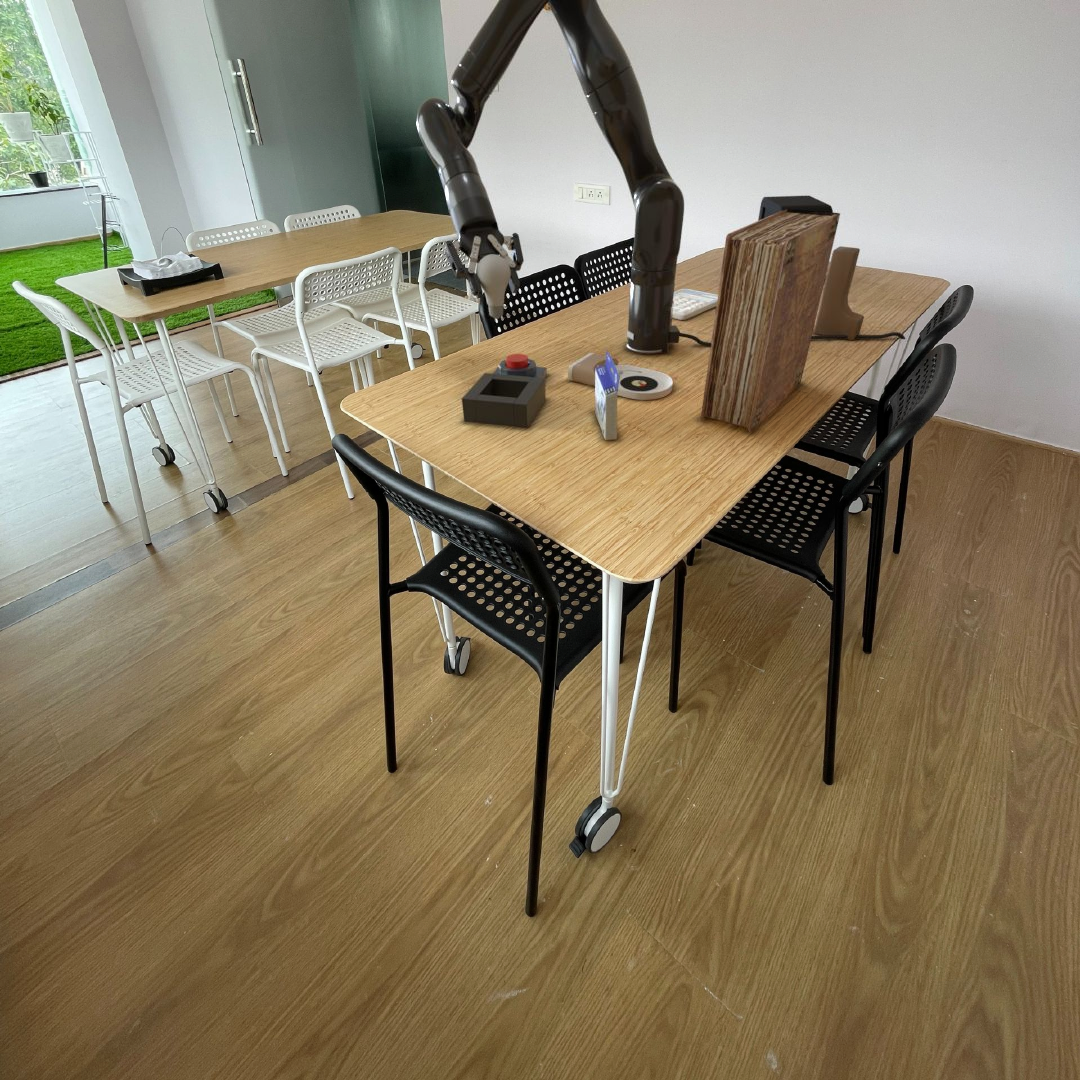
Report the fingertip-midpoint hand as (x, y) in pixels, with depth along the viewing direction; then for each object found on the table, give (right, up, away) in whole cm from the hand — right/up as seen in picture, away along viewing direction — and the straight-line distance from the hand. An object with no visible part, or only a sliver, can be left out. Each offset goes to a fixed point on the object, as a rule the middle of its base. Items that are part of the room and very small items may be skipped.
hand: (498, 293), depth 110 cm
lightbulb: (-1, -3, +4) cm, 5 cm away
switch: (+3, -12, +16) cm, 20 cm away
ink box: (+19, -24, -1) cm, 31 cm away
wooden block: (+76, +3, +32) cm, 83 cm away
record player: (+24, -13, +13) cm, 30 cm away
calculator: (+45, +17, +52) cm, 71 cm away
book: (+47, -18, +5) cm, 51 cm away
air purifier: (+80, +34, +73) cm, 113 cm away
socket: (+1, -20, +5) cm, 21 cm away
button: (+3, -9, +14) cm, 17 cm away
